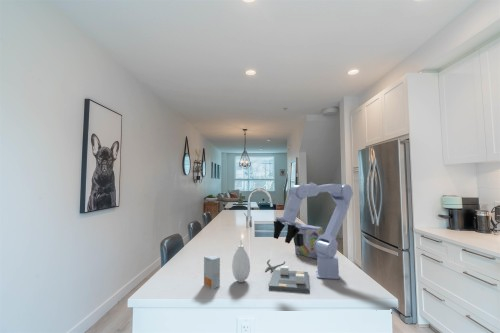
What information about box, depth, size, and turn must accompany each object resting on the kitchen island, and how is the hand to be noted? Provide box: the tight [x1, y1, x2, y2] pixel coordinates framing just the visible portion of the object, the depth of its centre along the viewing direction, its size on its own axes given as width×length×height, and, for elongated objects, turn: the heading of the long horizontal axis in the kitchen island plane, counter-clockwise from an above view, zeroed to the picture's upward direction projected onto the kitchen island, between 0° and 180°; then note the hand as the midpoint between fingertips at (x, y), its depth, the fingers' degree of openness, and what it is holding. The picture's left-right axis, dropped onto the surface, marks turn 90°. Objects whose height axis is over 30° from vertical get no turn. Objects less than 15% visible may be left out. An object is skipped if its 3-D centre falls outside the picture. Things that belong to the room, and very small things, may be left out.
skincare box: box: [203, 254, 221, 290], centre depth 108 cm, size 6×4×12 cm
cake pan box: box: [293, 223, 323, 260], centre depth 152 cm, size 19×5×18 cm, turn 37°
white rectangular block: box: [296, 273, 305, 284], centre depth 107 cm, size 4×3×3 cm
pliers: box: [264, 259, 286, 274], centre depth 133 cm, size 10×1×20 cm
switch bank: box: [268, 269, 310, 293], centre depth 112 cm, size 16×19×2 cm
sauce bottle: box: [231, 241, 251, 283], centre depth 113 cm, size 8×8×18 cm
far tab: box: [279, 265, 290, 275], centre depth 117 cm, size 4×3×3 cm
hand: (281, 240), depth 110 cm, fingers open, 7 cm apart
